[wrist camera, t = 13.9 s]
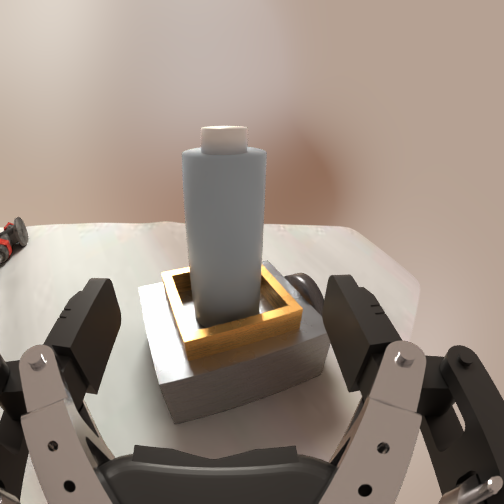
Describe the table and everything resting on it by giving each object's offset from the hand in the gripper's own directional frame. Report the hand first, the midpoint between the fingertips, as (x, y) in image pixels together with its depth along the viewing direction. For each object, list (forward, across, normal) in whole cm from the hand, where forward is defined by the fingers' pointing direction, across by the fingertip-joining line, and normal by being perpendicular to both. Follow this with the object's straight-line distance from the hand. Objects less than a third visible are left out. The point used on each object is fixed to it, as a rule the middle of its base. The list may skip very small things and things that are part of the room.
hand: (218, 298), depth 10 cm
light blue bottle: (+11, 0, +10) cm, 14 cm away
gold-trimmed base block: (+11, 0, +16) cm, 19 cm away
